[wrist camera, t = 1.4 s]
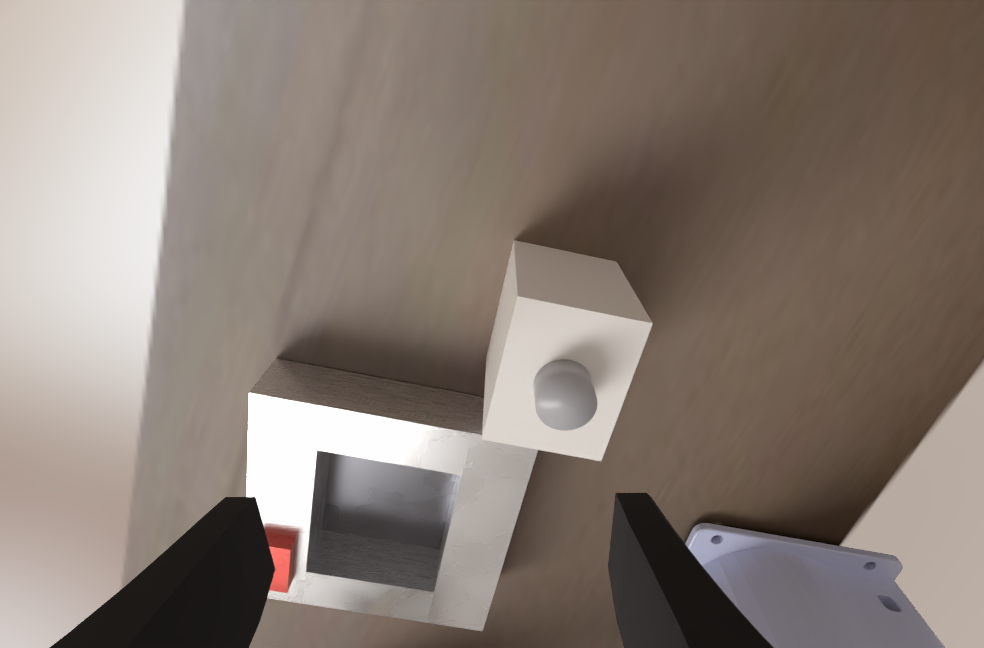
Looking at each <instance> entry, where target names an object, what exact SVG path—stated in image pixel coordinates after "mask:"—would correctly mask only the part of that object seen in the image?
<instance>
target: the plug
mask: <svg viewBox="0 0 984 648" xmlns="http://www.w3.org/2000/svg"><path fill="white" fill-rule="evenodd" d="M652 324H653V323H652V321H651V320H650V318H649V316H648V314H647V313H646V311H645V309H644V308H643V306H642V304H641V302H640V301H639V299H638V297H637V296H636V294H635V292H634V290H633V289H632V287H631V285H630V284H629V282H628V280H627V279H626V277H625V275H624V273H623V272H622V270H621V268H620V267H619V265H618V263H617V262H616V261H611V260H607V259H602V258H597V257H592V256H587V255H583V254H578V253H573V252H568V251H564V250H559V249H554V248H549V247H544V246H540V245H535V244H530V243H525V242H521V241H516V240H514V242H513V246H512V250H511V255H510V259H509V263H508V267H507V272H506V276H505V280H504V284H503V289H502V293H501V297H500V301H499V306H498V310H497V314H496V318H495V323H494V327H493V331H492V335H491V340H490V344H489V348H488V352H487V357H486V373H485V391H484V409H483V427H482V440H487V441H493V442H498V443H504V444H509V445H515V446H520V447H526V448H531V449H537V450H542V451H548V452H553V453H559V454H564V455H570V456H575V457H581V458H586V459H592V460H597V461H602V458H603V455H604V453H605V450H606V447H607V445H608V442H609V439H610V437H611V434H612V431H613V429H614V426H615V423H616V421H617V418H618V415H619V413H620V410H621V407H622V405H623V402H624V399H625V397H626V394H627V391H628V389H629V386H630V383H631V381H632V378H633V375H634V373H635V370H636V367H637V364H638V362H639V359H640V356H641V354H642V351H643V348H644V346H645V343H646V340H647V338H648V335H649V332H650V330H651V327H652Z"/></svg>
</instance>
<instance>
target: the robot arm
mask: <svg viewBox="0 0 984 648" xmlns="http://www.w3.org/2000/svg"><path fill="white" fill-rule="evenodd" d="M716 535H718V536H716ZM713 536H716V537H713ZM608 569H609V575H610V582H611V588H612V595H613V601H614V606H615V612H616V618H617V622H618V626H619V630H620V634H621V638H622V641H623V645H624V648H945V647H944V646H943V644H942V643H941V642H940V640H939V639H938V638H937V636H936V635H935V634H934V632H933V631H932V630H931V628H930V627H929V626H928V625H927V623H926V622H925V621H924V619H923V618H922V617H921V615H920V614H919V613H918V612H917V610H916V609H915V608H914V606H913V605H912V604H911V602H910V601H909V600H908V598H907V597H906V596H905V594H904V593H903V592H902V591H901V589H900V588H899V587H898V585H897V584H896V583H895V582H894V580H895V578H896V577H897V576H898V574H899V573H900V572H901V570H902V564H901V563H900V561H899V560H898V559H897V558H896V557H895V556H893V555H888V554H882V553H876V552H871V551H864V550H859V549H853V548H847V547H842V546H836V545H830V544H825V543H819V542H813V541H807V540H802V539H796V538H790V537H784V536H779V535H773V534H767V533H762V532H756V531H750V530H744V529H739V528H733V527H727V526H721V525H716V524H710V523H700V524H698V525H696V526H695V527H694V528H693V529H692V531H691V533H690V535H689V537H688V539H687V541H686V543H684V542H683V541H682V539H681V538H680V537H679V535H678V534H677V533H676V531H675V530H674V529H673V527H672V526H671V524H670V523H669V522H668V520H667V519H666V518H665V516H664V515H663V513H662V512H661V511H660V509H659V508H658V506H657V505H656V503H655V502H654V501H653V499H652V498H651V497H650V496H649V495H648V494H647V493H616V495H615V505H614V514H613V524H612V534H611V543H610V553H609V563H608ZM274 572H275V566H274V562H273V559H272V555H271V551H270V548H269V544H268V540H267V537H266V533H265V529H264V526H263V522H262V518H261V515H260V511H259V507H258V504H257V500H256V497H225V498H224V499H223V500H222V501H221V502H220V503H218V504H217V505H216V506H215V507H214V508H213V509H212V510H210V511H209V512H208V513H207V514H206V515H205V516H204V517H203V518H201V519H200V520H199V521H198V522H197V523H196V524H195V525H194V526H193V527H192V528H190V529H189V530H188V531H187V532H186V533H185V534H184V535H183V536H182V537H180V538H179V539H178V540H177V541H176V542H175V543H174V544H173V545H172V546H171V547H169V548H168V549H167V550H166V551H165V552H164V553H163V554H162V555H160V556H159V557H158V558H157V559H156V560H155V561H154V562H152V563H151V564H150V565H149V566H148V567H147V568H146V569H145V570H143V571H142V572H141V573H140V574H139V575H138V576H137V577H135V578H134V579H133V580H132V581H131V582H130V583H129V584H127V585H126V586H125V587H124V588H123V589H122V590H120V591H119V592H118V593H117V594H116V595H114V596H113V597H112V598H111V599H110V600H108V601H107V602H106V603H105V604H104V605H102V606H101V607H100V608H98V609H97V610H96V611H95V612H94V613H93V614H91V615H90V616H89V617H88V618H86V619H85V620H84V621H83V622H81V623H80V624H79V625H78V626H77V627H76V628H74V629H73V630H72V631H71V632H69V633H68V634H67V635H66V636H64V637H63V638H62V639H60V640H59V641H58V642H57V643H55V644H54V645H53V646H51V647H50V648H249V645H250V643H251V641H252V638H253V636H254V634H255V631H256V629H257V627H258V624H259V622H260V619H261V616H262V612H263V609H264V606H265V603H266V600H267V597H268V593H269V590H270V586H271V583H272V579H273V576H274Z"/></svg>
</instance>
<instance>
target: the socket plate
mask: <svg viewBox="0 0 984 648" xmlns="http://www.w3.org/2000/svg"><path fill="white" fill-rule="evenodd" d="M483 409H484V397H481V396H476V395H471V394H465V393H460V392H455V391H449V390H444V389H438V388H433V387H428V386H422V385H417V384H412V383H406V382H401V381H396V380H390V379H385V378H379V377H374V376H369V375H363V374H358V373H353V372H347V371H342V370H337V369H331V368H326V367H320V366H315V365H310V364H304V363H299V362H294V361H288V360H283V359H278V358H276V359H275V360H274V361H273V362H272V364H271V365H270V366H269V368H268V369H267V370H266V371H265V373H264V374H263V375H262V377H261V378H260V379H259V380H258V382H257V383H256V384H255V386H254V387H253V388H252V389H251V391H250V392H249V412H248V458H247V497H256V500H257V504H258V507H259V511H260V515H261V518H262V522H263V526H264V529H265V533H266V537H267V540H268V544H269V548H270V551H271V555H272V559H273V562H274V566H275V572H274V576H273V579H272V583H271V586H270V590H269V593H268V597H267V598H270V599H276V600H283V601H289V602H296V603H302V604H309V605H315V606H322V607H328V608H335V609H341V610H348V611H354V612H361V613H367V614H374V615H380V616H387V617H393V618H400V619H406V620H413V621H419V622H426V623H432V624H439V625H445V626H452V627H458V628H465V629H471V630H478V631H483V628H484V625H485V622H486V618H487V615H488V612H489V609H490V605H491V602H492V599H493V595H494V592H495V589H496V586H497V582H498V579H499V576H500V573H501V569H502V566H503V563H504V560H505V556H506V553H507V550H508V547H509V543H510V540H511V537H512V534H513V530H514V527H515V524H516V520H517V517H518V514H519V511H520V507H521V504H522V501H523V498H524V494H525V491H526V488H527V485H528V481H529V478H530V475H531V472H532V468H533V465H534V462H535V459H536V455H537V452H538V450H537V449H531V448H526V447H520V446H515V445H509V444H504V443H498V442H493V441H487V440H482V427H483Z"/></svg>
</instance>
